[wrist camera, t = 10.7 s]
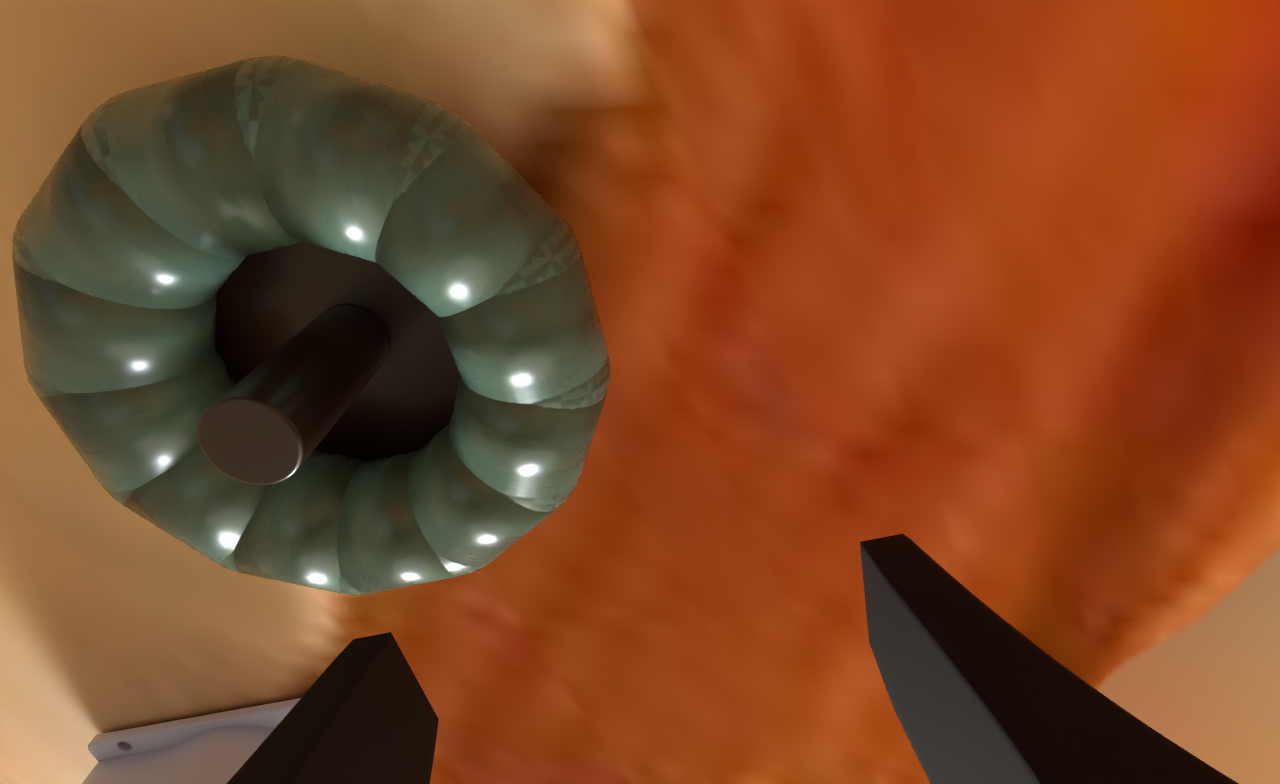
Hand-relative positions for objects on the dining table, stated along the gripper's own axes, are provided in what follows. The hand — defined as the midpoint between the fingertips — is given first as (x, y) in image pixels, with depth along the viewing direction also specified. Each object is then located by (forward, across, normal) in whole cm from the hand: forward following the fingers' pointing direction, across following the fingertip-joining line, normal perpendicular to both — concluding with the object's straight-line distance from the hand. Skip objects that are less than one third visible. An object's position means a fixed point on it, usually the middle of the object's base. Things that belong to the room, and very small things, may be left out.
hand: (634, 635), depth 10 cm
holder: (+10, +7, -3) cm, 13 cm away
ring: (+8, +7, -3) cm, 11 cm away
